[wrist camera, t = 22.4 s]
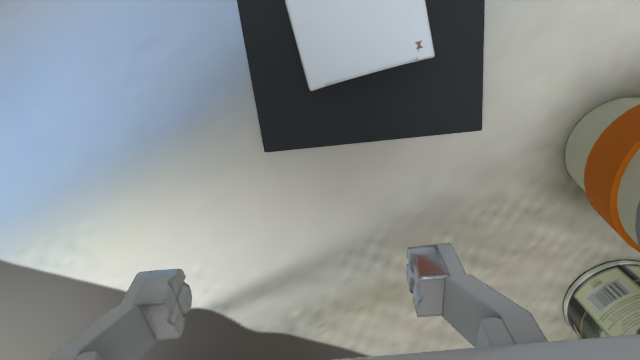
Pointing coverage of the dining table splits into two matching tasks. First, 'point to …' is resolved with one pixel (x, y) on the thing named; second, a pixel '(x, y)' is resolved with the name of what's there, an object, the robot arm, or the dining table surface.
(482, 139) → the dining table surface
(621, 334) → the coffee can
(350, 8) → the small box
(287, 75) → the mat
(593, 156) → the reusable coffee cup
